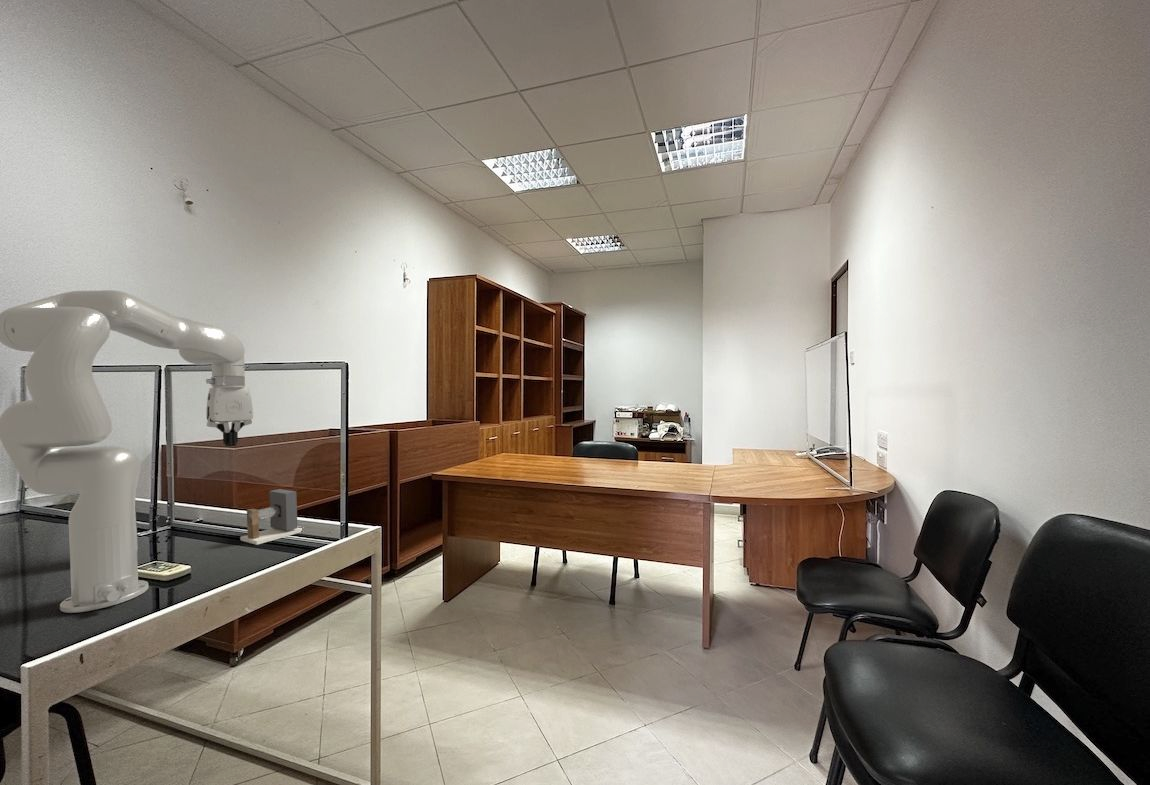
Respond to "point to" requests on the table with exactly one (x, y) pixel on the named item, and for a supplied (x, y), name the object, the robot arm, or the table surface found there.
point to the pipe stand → (265, 535)
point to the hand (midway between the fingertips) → (230, 445)
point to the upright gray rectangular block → (284, 509)
